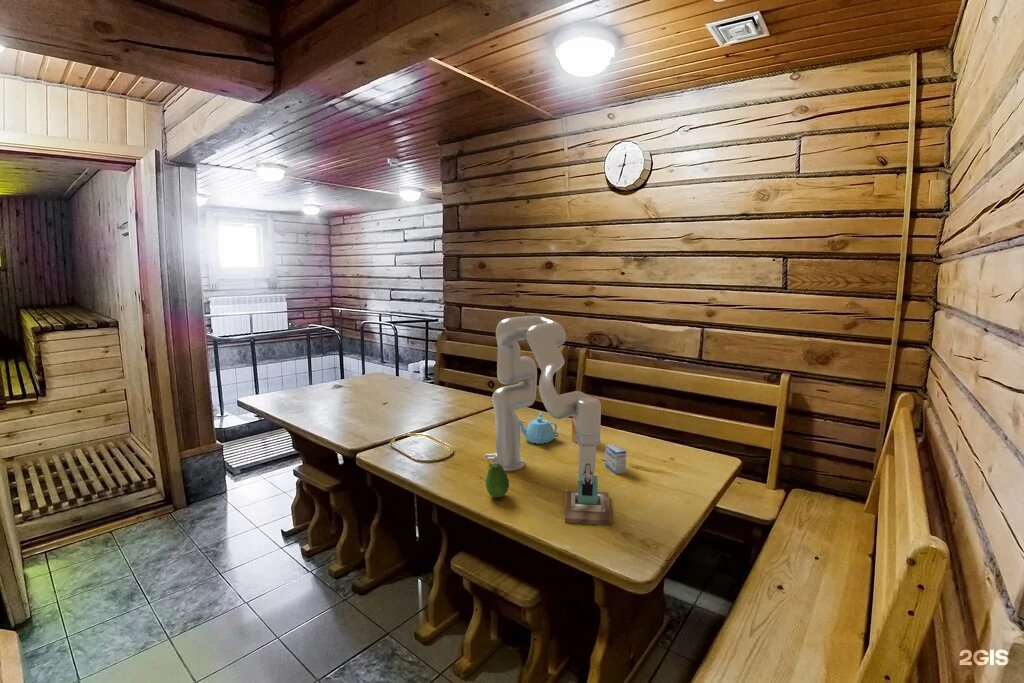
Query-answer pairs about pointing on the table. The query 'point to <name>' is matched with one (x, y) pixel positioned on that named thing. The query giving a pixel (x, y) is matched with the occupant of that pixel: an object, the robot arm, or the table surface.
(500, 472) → the avocado
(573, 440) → the small box
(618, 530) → the table surface
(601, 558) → the table surface
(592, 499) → the plug
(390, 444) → the serving platter
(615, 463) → the medicine box
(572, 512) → the socket block
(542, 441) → the teapot
